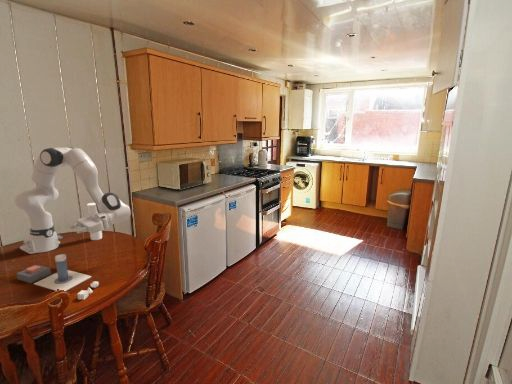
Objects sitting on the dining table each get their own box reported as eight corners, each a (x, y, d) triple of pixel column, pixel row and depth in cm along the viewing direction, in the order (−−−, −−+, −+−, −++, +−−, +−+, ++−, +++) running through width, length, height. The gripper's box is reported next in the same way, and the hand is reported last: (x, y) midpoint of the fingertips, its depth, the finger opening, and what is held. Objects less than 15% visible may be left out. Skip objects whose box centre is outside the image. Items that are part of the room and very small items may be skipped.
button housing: (17, 279, 144) (16, 273, 144) (38, 270, 154) (37, 264, 153) (30, 283, 141) (29, 276, 140) (51, 273, 150) (50, 267, 150)
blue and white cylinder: (55, 280, 143) (52, 257, 141) (64, 276, 148) (61, 253, 145) (62, 282, 142) (59, 258, 139) (71, 278, 146) (68, 255, 143)
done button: (26, 274, 146) (25, 268, 145) (35, 270, 150) (34, 265, 149) (32, 275, 144) (31, 270, 144) (41, 271, 148) (40, 266, 148)
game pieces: (84, 300, 129) (83, 294, 129) (77, 300, 130) (76, 293, 129) (100, 285, 141) (99, 280, 140) (94, 285, 141) (93, 279, 141)
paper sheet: (33, 284, 141) (33, 283, 141) (64, 269, 155) (64, 268, 155) (62, 292, 134) (62, 292, 134) (91, 276, 149) (91, 276, 149)
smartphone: (51, 240, 193) (41, 235, 200) (51, 241, 193) (41, 236, 200) (63, 236, 199) (52, 232, 206) (63, 238, 199) (52, 233, 207)
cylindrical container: (104, 237, 201) (101, 203, 196) (96, 240, 195) (92, 205, 189) (96, 235, 204) (93, 202, 198) (88, 239, 197) (84, 204, 192)
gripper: (93, 211, 162) (65, 220, 153) (107, 218, 149) (78, 228, 139) (95, 221, 164) (69, 230, 155) (110, 229, 151) (81, 240, 141)
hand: (73, 229), depth 147 cm, fingers open, 8 cm apart
